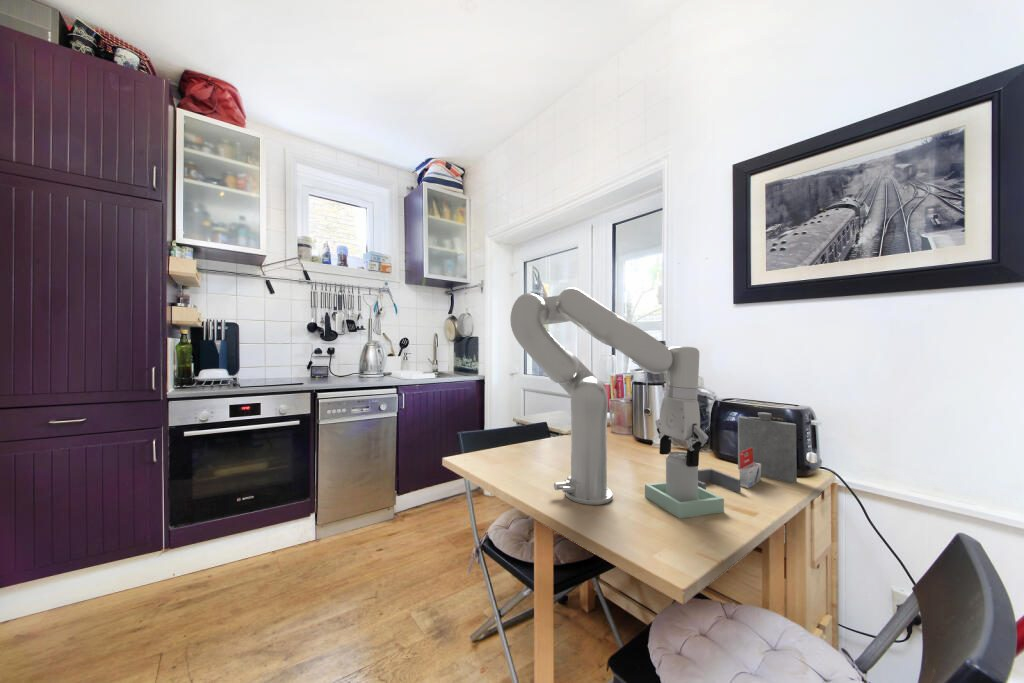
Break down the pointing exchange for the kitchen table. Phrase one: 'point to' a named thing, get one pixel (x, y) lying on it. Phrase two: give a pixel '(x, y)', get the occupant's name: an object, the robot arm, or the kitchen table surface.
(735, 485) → the bay
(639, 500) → the kitchen table surface
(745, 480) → the ink cartridge box
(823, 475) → the kitchen table surface
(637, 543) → the kitchen table surface
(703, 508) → the tray
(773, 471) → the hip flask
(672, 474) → the can
